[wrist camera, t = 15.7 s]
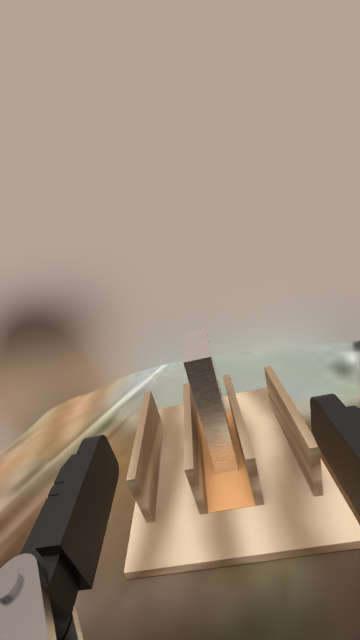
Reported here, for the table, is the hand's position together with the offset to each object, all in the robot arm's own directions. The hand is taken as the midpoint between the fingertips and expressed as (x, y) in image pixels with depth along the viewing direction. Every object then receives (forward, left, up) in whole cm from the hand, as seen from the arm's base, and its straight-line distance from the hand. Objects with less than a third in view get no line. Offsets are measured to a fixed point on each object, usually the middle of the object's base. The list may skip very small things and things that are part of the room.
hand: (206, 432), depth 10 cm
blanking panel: (0, +14, -17) cm, 22 cm away
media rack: (-1, +14, -18) cm, 23 cm away
